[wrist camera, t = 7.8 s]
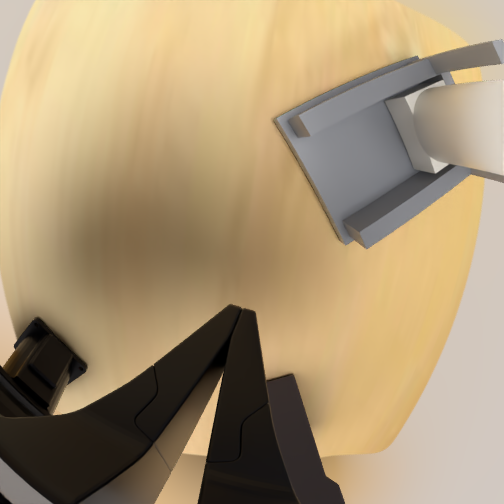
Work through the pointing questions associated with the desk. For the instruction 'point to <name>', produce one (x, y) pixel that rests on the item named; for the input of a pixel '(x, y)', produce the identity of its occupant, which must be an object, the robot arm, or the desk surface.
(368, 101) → the mount
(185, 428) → the robot arm
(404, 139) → the teal-lidded white jar
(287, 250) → the desk surface
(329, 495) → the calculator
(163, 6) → the desk surface
